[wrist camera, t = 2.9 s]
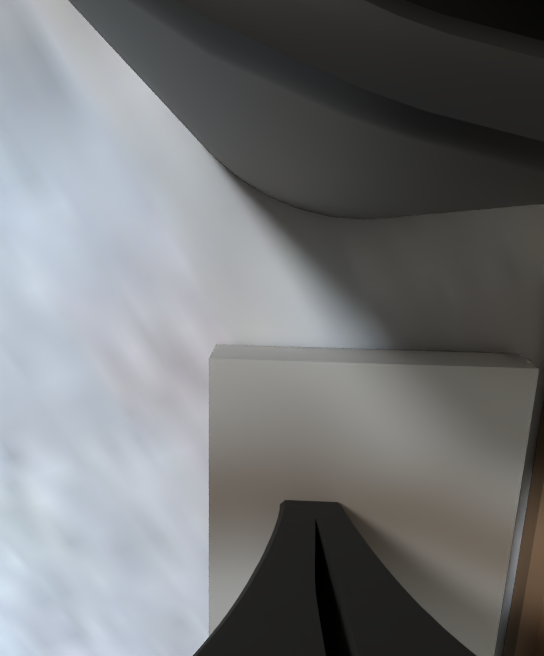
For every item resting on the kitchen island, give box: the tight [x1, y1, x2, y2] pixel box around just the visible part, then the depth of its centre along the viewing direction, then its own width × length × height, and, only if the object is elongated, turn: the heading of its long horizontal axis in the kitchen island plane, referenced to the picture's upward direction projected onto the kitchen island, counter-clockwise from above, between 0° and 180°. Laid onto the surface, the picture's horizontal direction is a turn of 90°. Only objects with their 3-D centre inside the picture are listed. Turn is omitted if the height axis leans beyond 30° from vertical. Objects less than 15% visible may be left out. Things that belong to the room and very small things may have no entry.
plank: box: [209, 345, 539, 656], centre depth 11 cm, size 8×7×1 cm
